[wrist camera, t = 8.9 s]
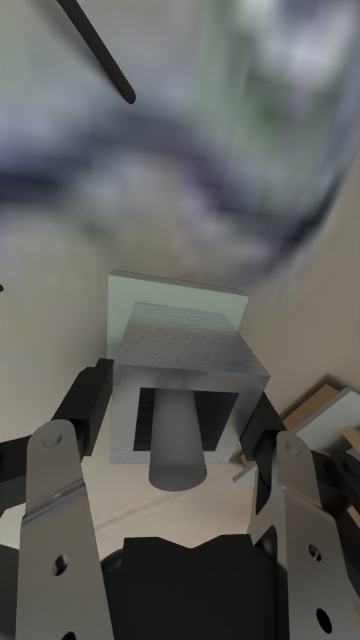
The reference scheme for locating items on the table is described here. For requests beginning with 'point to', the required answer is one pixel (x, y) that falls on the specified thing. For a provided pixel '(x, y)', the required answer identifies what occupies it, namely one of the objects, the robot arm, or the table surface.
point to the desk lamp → (322, 436)
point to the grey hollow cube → (182, 379)
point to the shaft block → (170, 404)
